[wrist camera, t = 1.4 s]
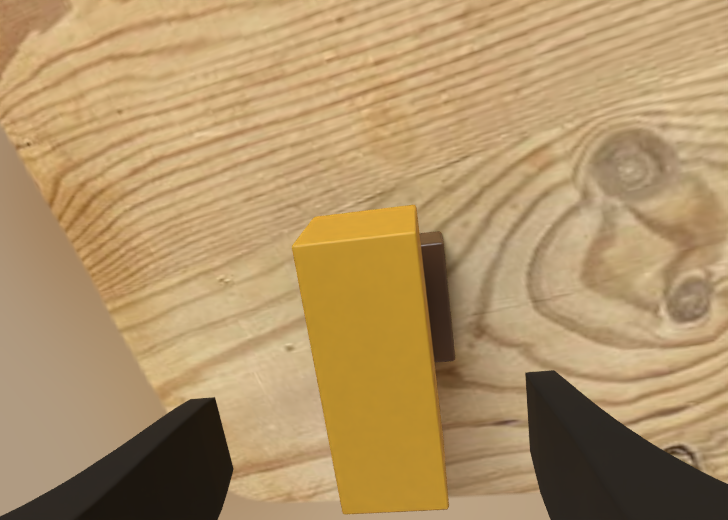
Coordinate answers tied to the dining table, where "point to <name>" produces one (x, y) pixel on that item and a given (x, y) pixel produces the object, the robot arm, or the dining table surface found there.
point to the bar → (374, 358)
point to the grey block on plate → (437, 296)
